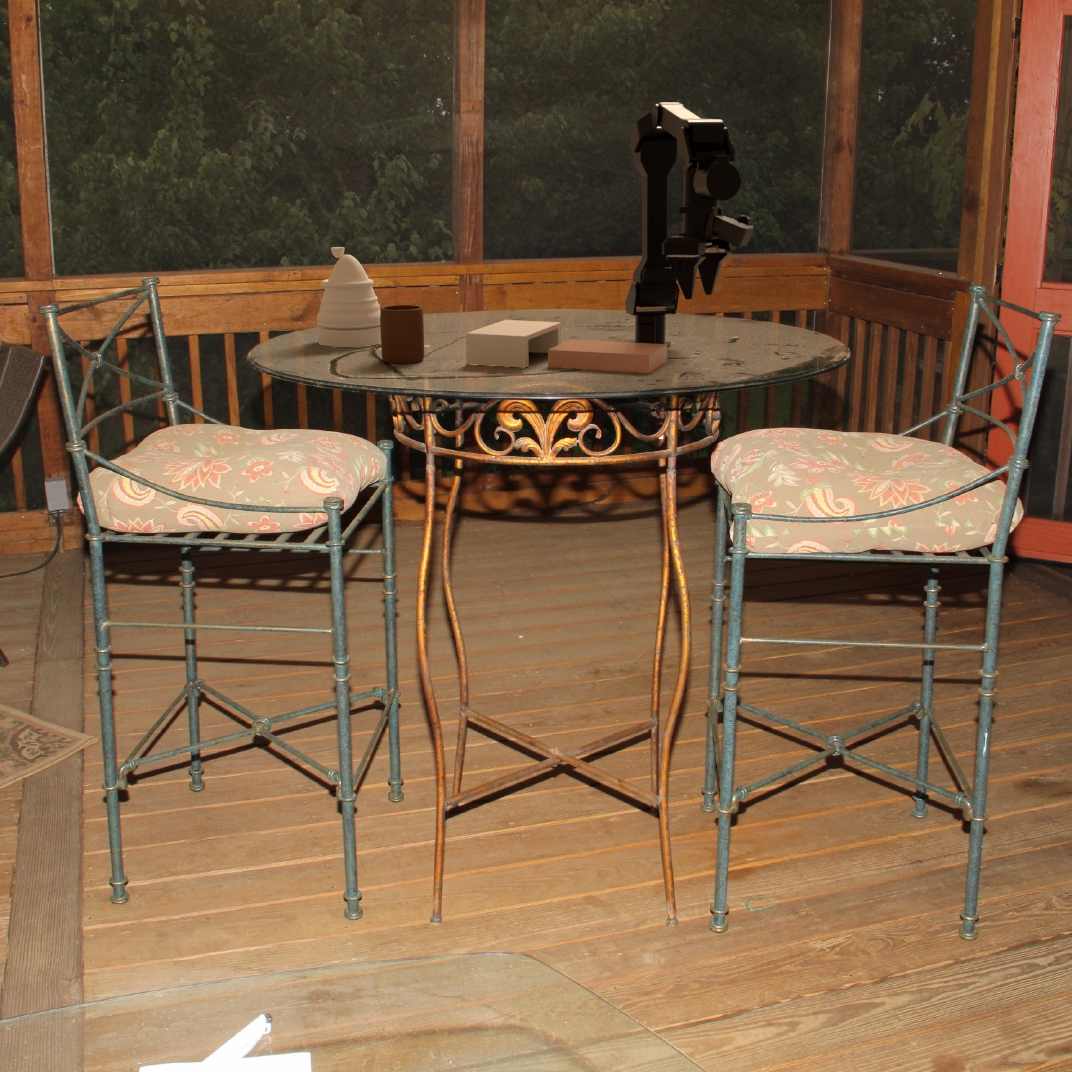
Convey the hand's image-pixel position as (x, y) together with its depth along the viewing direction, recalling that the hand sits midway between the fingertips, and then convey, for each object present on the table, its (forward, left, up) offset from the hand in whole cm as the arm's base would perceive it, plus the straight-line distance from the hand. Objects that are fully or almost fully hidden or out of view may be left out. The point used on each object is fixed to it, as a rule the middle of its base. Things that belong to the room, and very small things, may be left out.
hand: (698, 297), depth 211 cm
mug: (+6, -52, -13) cm, 54 cm away
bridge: (-1, -33, -12) cm, 36 cm away
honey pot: (-8, -70, -13) cm, 72 cm away
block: (-1, -16, -13) cm, 20 cm away
